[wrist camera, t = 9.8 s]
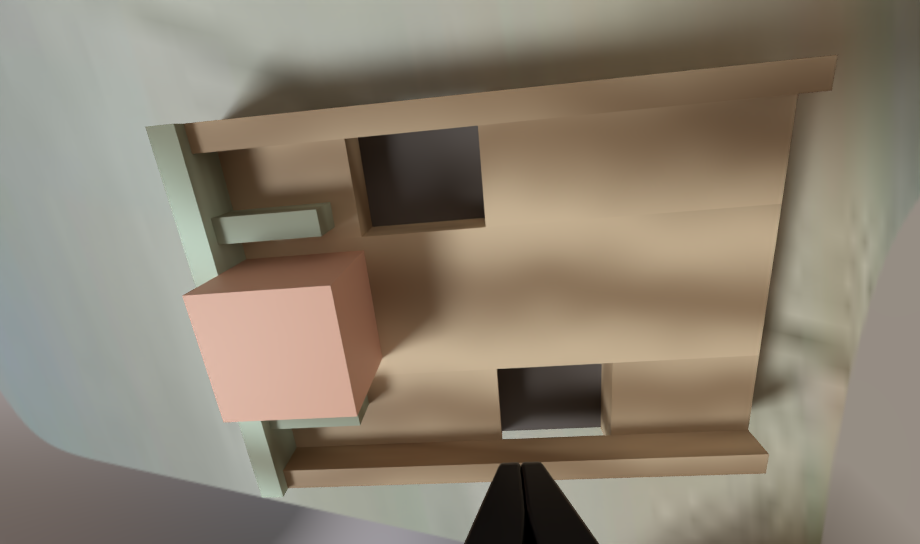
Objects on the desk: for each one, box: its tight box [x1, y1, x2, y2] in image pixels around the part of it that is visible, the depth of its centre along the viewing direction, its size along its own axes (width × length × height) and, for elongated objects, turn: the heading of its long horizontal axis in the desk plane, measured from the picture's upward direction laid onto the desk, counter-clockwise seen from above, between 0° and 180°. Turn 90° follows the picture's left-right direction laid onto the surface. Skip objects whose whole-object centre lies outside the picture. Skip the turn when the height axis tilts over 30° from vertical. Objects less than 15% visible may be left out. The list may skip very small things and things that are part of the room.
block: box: [183, 250, 382, 422], centre depth 17 cm, size 5×5×4 cm
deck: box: [146, 55, 838, 498], centre depth 18 cm, size 16×22×4 cm
